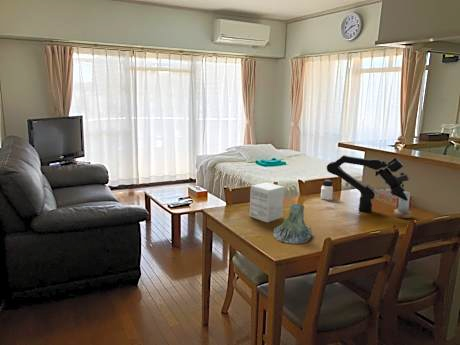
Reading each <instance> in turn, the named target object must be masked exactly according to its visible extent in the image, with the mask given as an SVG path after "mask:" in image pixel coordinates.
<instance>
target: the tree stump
mask: <svg viewBox="0 0 460 345" xmlns="http://www.w3.org/2000/svg"><path fill="white" fill-rule="evenodd" d="M304 211H305V205H303V204H298V203H293V202H292V203H291V205H290V208H289V213H288V215H287V218H285V219H284V220H283V223H281V225H280V224H279V225H277V226H276V227H274V229H273V235H272V236H273V238H274V239H276V241H279V242H280V243H281V242H282V243H283V244H284V243H285V244H289V245H290V244H291V245H300V244H306V243H307V242H308V241H310V239H311V237H312V234H313V233H312V231H313V230H312V227H309V226H308V225H306V223H305V221H304Z"/></svg>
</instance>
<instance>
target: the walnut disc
mask: <svg viewBox="0 0 460 345" xmlns="http://www.w3.org/2000/svg"><path fill="white" fill-rule="evenodd" d="M412 214H413V213H412V210H409V209H408V212H407V213H403V212H399V211H398V208H395V209H394V210H393V217H394V218H397V219H402V218H410V219H411V218H412Z"/></svg>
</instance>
